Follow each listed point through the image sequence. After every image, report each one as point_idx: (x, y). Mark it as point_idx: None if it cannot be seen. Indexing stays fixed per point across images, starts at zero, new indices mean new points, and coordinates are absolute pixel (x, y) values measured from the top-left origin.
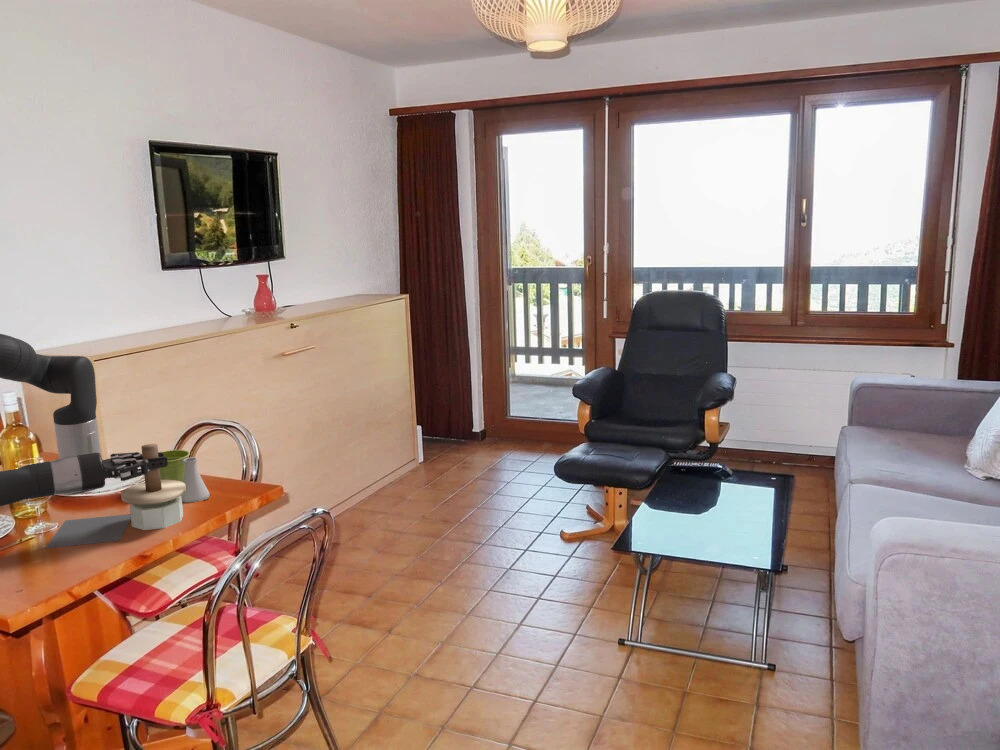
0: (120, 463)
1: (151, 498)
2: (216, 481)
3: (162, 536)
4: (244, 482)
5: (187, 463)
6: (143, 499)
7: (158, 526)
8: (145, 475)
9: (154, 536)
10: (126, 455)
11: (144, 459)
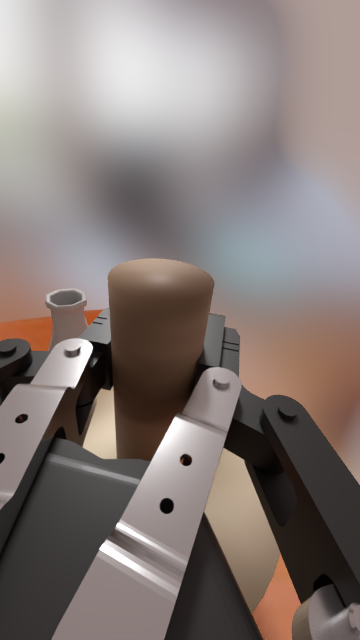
0: (177, 600)
1: (263, 529)
2: (41, 326)
3: (280, 583)
4: (97, 312)
5: (74, 310)
6: (258, 572)
7: None
8: (158, 447)
9: (264, 611)
10: (17, 419)
11: (218, 380)
